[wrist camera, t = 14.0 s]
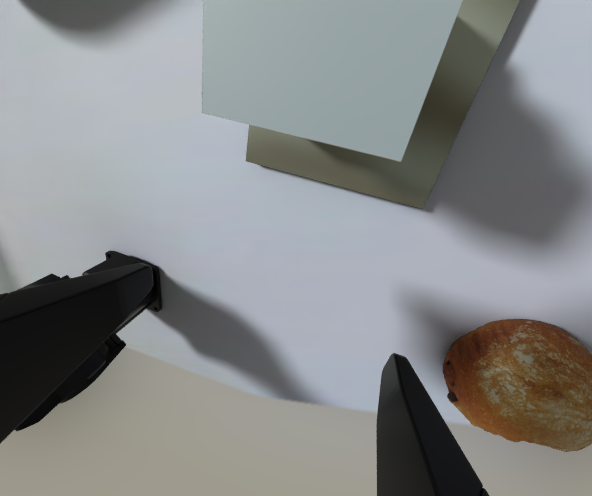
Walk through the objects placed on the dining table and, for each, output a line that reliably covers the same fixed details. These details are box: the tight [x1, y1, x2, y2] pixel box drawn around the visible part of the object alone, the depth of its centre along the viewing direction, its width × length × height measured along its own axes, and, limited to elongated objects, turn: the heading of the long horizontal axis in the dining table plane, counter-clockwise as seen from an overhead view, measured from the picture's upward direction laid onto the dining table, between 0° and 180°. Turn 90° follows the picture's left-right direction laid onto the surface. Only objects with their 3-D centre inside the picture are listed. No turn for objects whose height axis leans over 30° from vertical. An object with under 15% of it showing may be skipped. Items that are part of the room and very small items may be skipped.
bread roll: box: [443, 319, 592, 452], centre depth 20 cm, size 10×10×8 cm
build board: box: [246, 0, 520, 209], centre depth 14 cm, size 13×13×5 cm
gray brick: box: [202, 0, 463, 161], centre depth 7 cm, size 5×5×4 cm
